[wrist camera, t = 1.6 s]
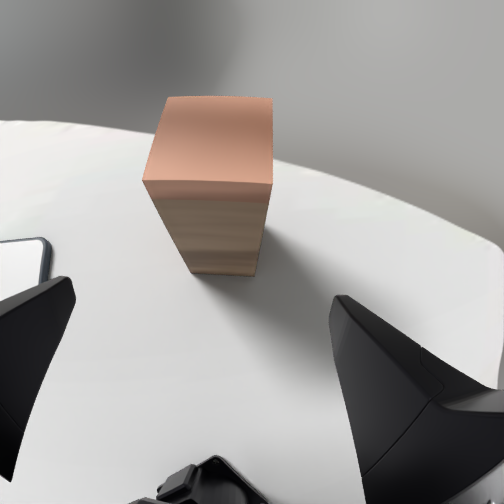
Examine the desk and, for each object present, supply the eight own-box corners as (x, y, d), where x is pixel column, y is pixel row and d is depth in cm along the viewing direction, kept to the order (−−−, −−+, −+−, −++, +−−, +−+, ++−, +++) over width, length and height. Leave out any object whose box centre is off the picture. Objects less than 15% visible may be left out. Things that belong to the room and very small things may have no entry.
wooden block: (254, 276, 23) (272, 183, 10) (190, 273, 23) (142, 179, 10) (256, 218, 24) (272, 98, 12) (197, 216, 24) (168, 97, 12)
